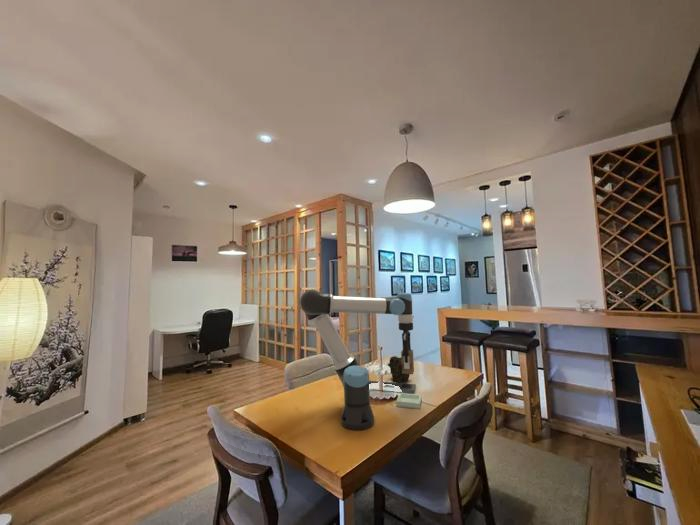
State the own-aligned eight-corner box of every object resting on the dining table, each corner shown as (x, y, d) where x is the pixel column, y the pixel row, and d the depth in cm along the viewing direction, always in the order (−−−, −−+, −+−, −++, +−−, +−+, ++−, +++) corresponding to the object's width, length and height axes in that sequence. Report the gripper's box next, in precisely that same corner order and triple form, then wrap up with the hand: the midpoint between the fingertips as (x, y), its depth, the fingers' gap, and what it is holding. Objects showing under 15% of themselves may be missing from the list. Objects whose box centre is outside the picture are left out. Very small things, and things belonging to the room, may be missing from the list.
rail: (413, 394, 159) (413, 390, 159) (362, 389, 169) (362, 385, 169) (415, 387, 168) (415, 384, 169) (367, 383, 178) (366, 380, 178)
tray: (419, 409, 140) (419, 403, 140) (396, 406, 143) (396, 401, 144) (421, 400, 151) (421, 394, 151) (399, 397, 154) (399, 392, 155)
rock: (387, 380, 183) (388, 356, 186) (395, 379, 189) (396, 355, 192) (403, 384, 174) (404, 358, 177) (411, 382, 180) (412, 357, 184)
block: (412, 374, 145) (411, 352, 146) (402, 373, 147) (401, 352, 147) (413, 371, 150) (413, 350, 151) (403, 370, 152) (402, 349, 153)
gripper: (410, 324, 140) (413, 372, 139) (414, 319, 158) (416, 362, 156) (395, 324, 143) (397, 371, 141) (401, 319, 160) (402, 361, 158)
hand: (407, 366), depth 149 cm, fingers closed on block, 5 cm apart
